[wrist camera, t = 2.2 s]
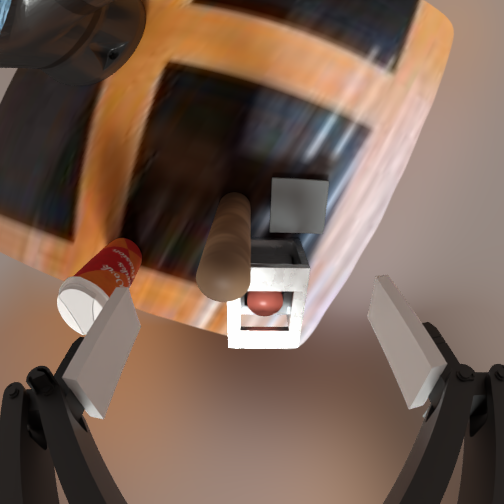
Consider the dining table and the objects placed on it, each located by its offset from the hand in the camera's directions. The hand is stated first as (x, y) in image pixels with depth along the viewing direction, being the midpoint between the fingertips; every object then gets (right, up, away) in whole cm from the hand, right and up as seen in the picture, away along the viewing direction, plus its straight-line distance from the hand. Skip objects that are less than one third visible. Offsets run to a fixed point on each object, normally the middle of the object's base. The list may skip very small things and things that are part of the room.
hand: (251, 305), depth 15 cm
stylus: (-2, +8, +22) cm, 23 cm away
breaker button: (+2, -2, +23) cm, 24 cm away
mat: (+6, +9, +22) cm, 24 cm away
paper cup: (-18, +2, +25) cm, 31 cm away
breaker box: (+2, -1, +26) cm, 26 cm away
